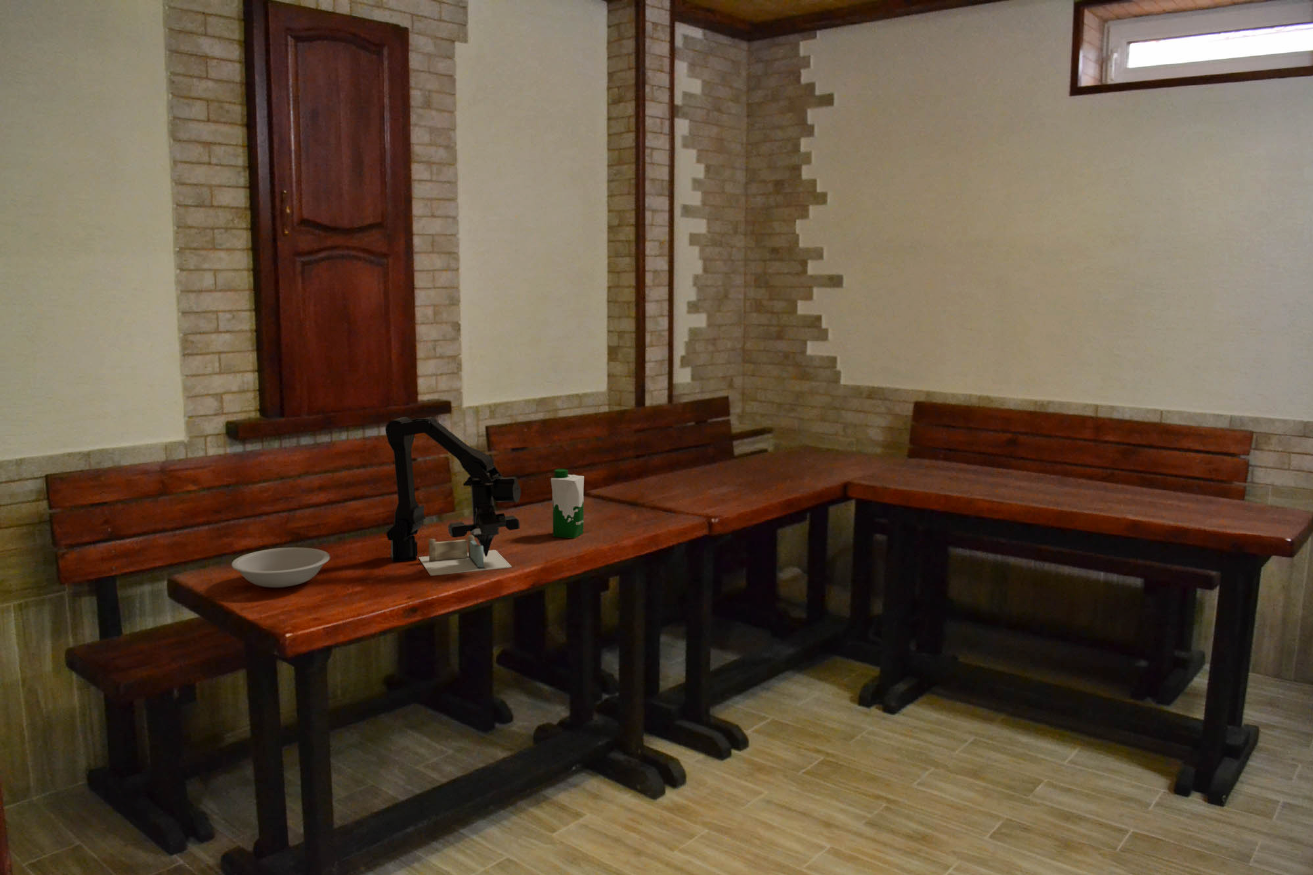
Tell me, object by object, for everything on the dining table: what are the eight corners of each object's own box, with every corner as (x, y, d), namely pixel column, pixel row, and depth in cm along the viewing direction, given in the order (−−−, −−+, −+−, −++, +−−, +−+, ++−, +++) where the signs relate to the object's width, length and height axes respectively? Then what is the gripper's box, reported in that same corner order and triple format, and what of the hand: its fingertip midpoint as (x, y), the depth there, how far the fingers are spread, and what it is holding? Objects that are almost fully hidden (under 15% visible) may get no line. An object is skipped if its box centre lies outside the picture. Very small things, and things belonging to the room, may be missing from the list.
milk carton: (560, 530, 344) (559, 467, 341) (587, 532, 341) (587, 468, 338) (548, 537, 336) (547, 472, 333) (576, 539, 333) (575, 474, 330)
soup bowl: (217, 583, 288) (215, 559, 287) (303, 565, 305) (302, 542, 304) (258, 604, 271) (257, 578, 270) (348, 584, 288) (346, 559, 287)
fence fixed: (429, 561, 308) (429, 540, 307) (428, 560, 309) (428, 539, 308) (475, 557, 312) (475, 536, 311) (474, 555, 314) (473, 535, 313)
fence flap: (469, 556, 311) (469, 537, 310) (475, 556, 312) (475, 536, 311) (477, 567, 301) (477, 547, 300) (484, 566, 301) (483, 546, 301)
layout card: (430, 575, 295) (430, 574, 295) (418, 558, 312) (418, 556, 312) (511, 567, 303) (511, 566, 303) (495, 550, 320) (495, 549, 320)
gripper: (454, 512, 293) (458, 569, 296) (523, 503, 299) (526, 559, 302) (446, 503, 303) (449, 558, 306) (512, 494, 310) (515, 548, 313)
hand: (485, 556), depth 306 cm, fingers closed
